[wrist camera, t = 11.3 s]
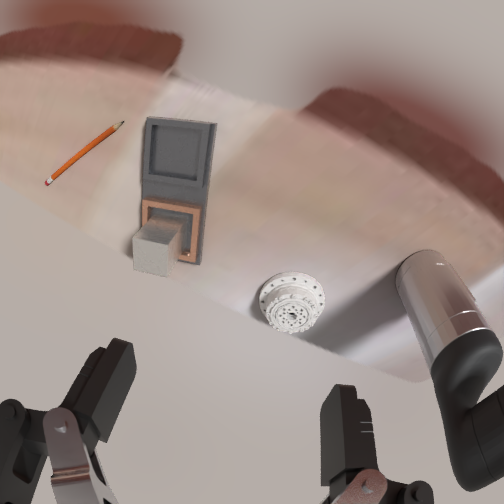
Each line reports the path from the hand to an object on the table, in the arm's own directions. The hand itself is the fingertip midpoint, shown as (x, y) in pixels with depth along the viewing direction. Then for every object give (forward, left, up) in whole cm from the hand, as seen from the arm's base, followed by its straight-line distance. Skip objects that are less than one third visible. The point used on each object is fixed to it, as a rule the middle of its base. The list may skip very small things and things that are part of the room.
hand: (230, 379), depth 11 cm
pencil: (+28, +1, -31) cm, 41 cm away
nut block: (+12, +10, -29) cm, 33 cm away
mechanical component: (-7, +19, -31) cm, 36 cm away
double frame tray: (+12, +5, -30) cm, 33 cm away
